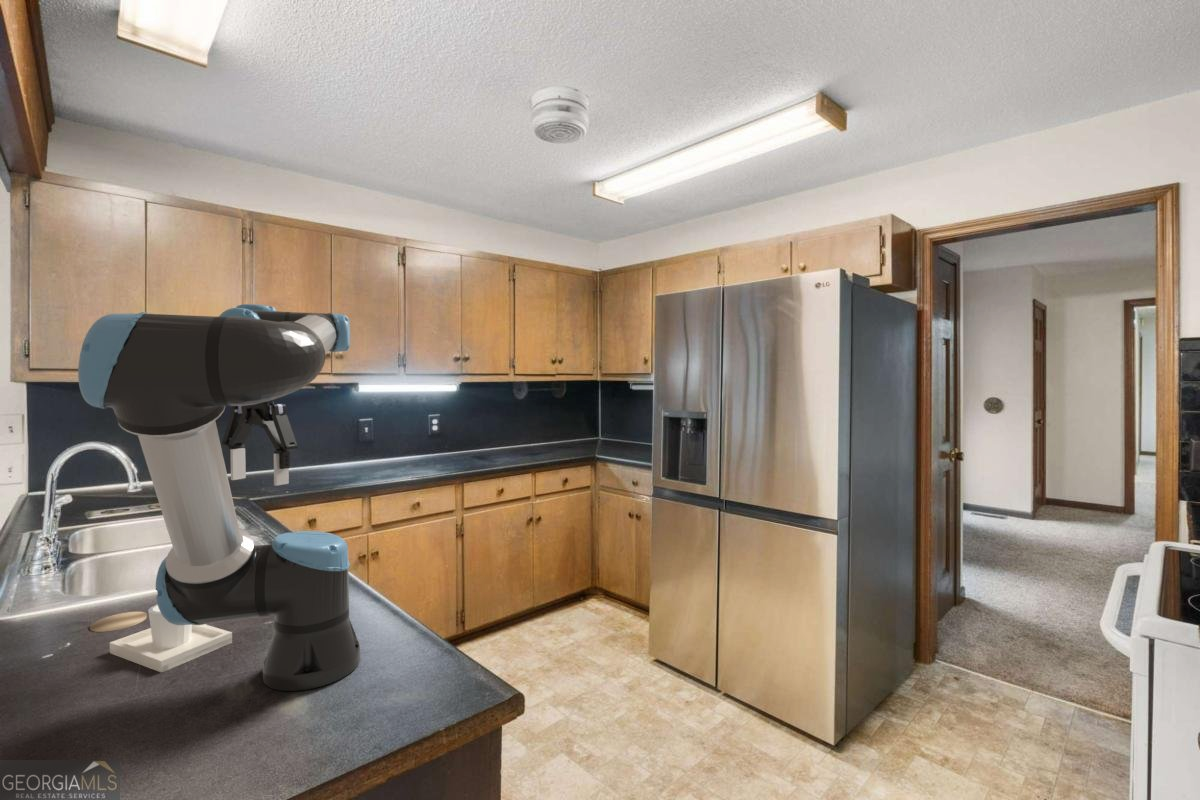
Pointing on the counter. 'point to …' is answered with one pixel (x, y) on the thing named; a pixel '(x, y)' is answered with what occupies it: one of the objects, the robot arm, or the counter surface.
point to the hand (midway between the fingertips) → (259, 481)
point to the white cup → (167, 631)
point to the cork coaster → (118, 621)
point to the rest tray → (162, 660)
